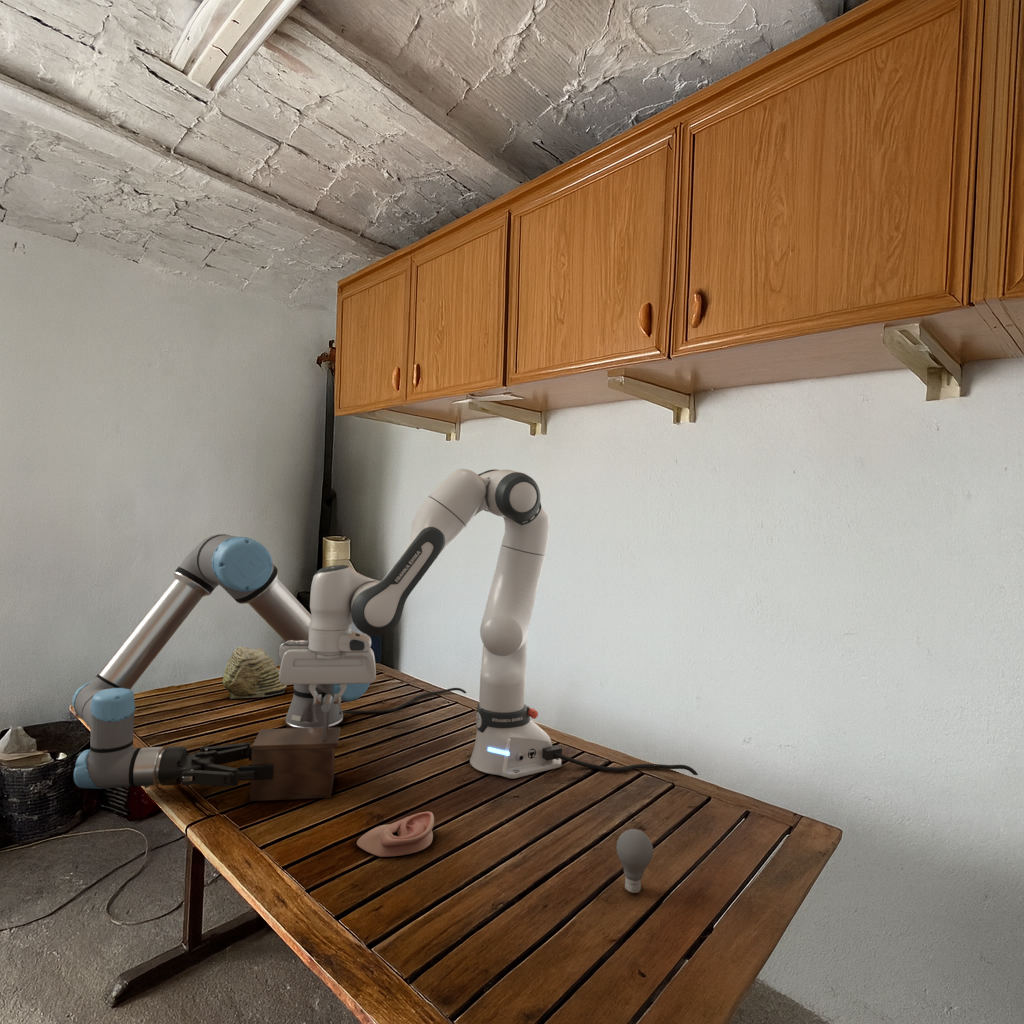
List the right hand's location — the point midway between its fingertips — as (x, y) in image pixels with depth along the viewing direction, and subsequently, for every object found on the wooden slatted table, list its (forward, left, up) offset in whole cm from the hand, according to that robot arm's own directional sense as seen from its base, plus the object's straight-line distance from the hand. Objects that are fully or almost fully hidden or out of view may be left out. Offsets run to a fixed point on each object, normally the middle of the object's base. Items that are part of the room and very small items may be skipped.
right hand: (327, 703), depth 138 cm
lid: (+6, -1, -8) cm, 10 cm away
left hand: (+10, -2, -12) cm, 16 cm away
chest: (+6, -1, -18) cm, 20 cm away
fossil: (+14, -71, -18) cm, 74 cm away
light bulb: (-44, +53, -18) cm, 72 cm away
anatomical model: (-10, +26, -18) cm, 34 cm away
